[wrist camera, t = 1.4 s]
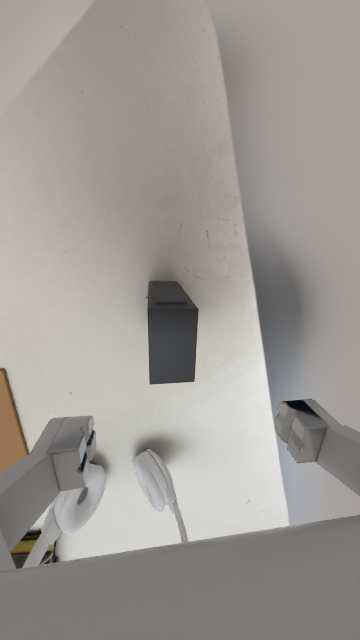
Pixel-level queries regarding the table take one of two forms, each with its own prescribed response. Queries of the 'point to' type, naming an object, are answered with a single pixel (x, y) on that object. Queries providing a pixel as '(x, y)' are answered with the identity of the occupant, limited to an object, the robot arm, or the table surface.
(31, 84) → the table surface
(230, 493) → the table surface
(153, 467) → the headphones
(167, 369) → the device
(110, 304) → the table surface
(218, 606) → the robot arm
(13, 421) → the mat
